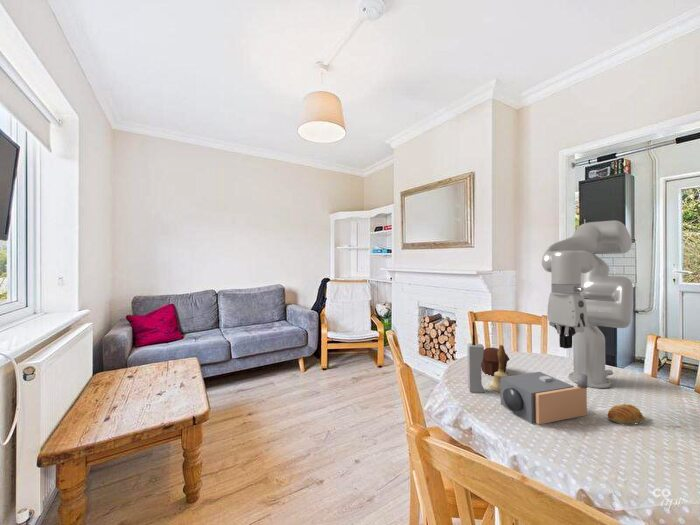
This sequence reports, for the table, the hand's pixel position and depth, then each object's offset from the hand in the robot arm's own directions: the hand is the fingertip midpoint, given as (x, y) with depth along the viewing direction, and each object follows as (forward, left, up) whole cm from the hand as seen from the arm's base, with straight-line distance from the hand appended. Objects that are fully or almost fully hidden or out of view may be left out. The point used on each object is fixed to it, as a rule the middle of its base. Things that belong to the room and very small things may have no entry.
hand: (565, 347), depth 94 cm
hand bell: (+9, -18, -20) cm, 28 cm away
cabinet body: (+10, -2, -20) cm, 22 cm away
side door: (+7, +5, -19) cm, 21 cm away
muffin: (+1, -31, -20) cm, 37 cm away
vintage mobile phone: (+19, -19, -20) cm, 33 cm away
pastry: (-11, +9, -20) cm, 25 cm away
